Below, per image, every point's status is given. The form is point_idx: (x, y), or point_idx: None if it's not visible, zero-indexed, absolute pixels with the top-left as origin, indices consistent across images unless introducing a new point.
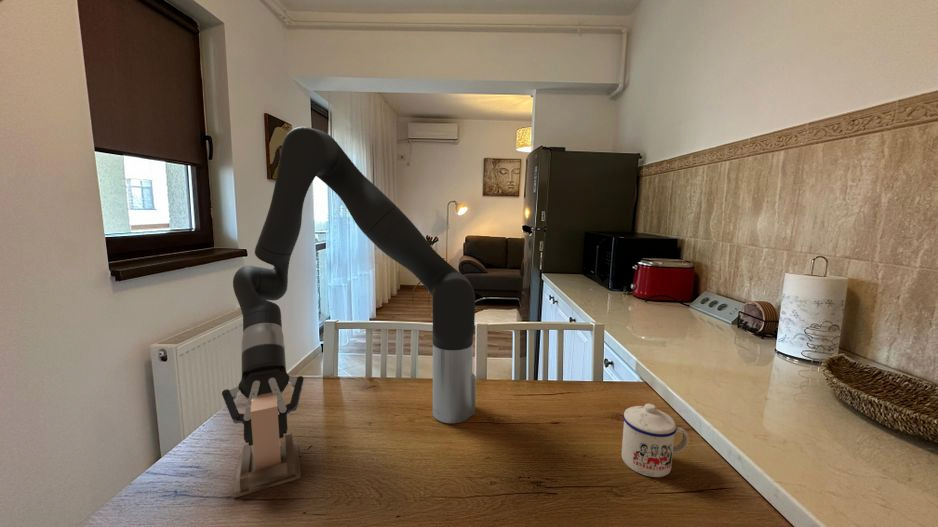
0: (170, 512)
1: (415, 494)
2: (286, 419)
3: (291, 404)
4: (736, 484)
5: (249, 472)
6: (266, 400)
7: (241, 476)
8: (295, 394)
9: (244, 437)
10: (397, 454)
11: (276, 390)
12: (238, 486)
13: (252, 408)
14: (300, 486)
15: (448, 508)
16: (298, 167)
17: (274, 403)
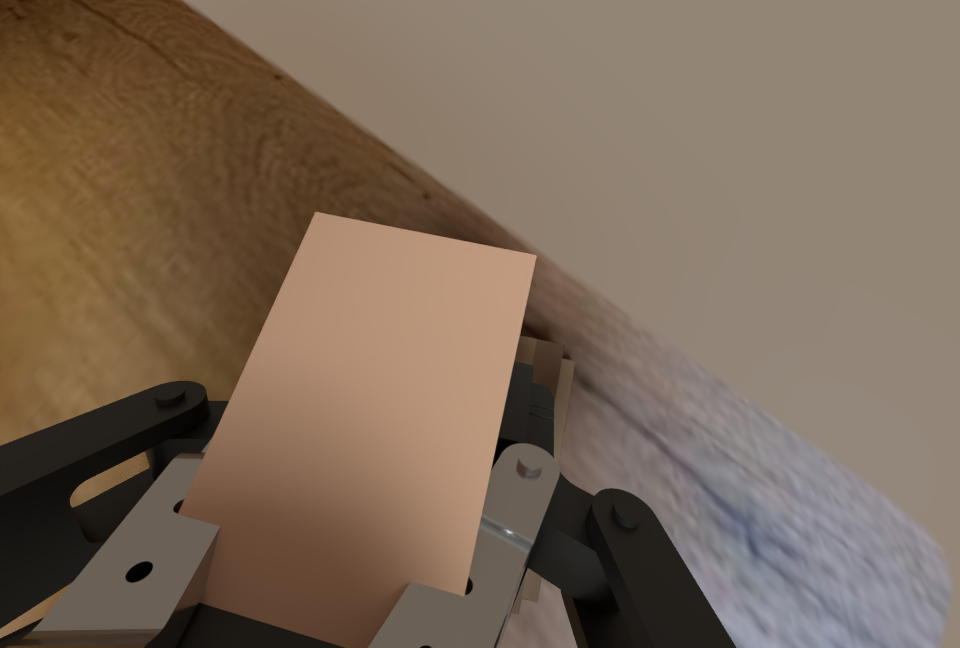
0: (747, 429)
1: (207, 99)
2: None
3: (186, 400)
4: None
5: (528, 363)
6: (345, 397)
7: (556, 359)
8: (53, 453)
9: (550, 398)
10: (111, 238)
11: (140, 554)
12: (560, 382)
13: (509, 313)
14: None
15: (193, 40)
16: None
17: (310, 280)
